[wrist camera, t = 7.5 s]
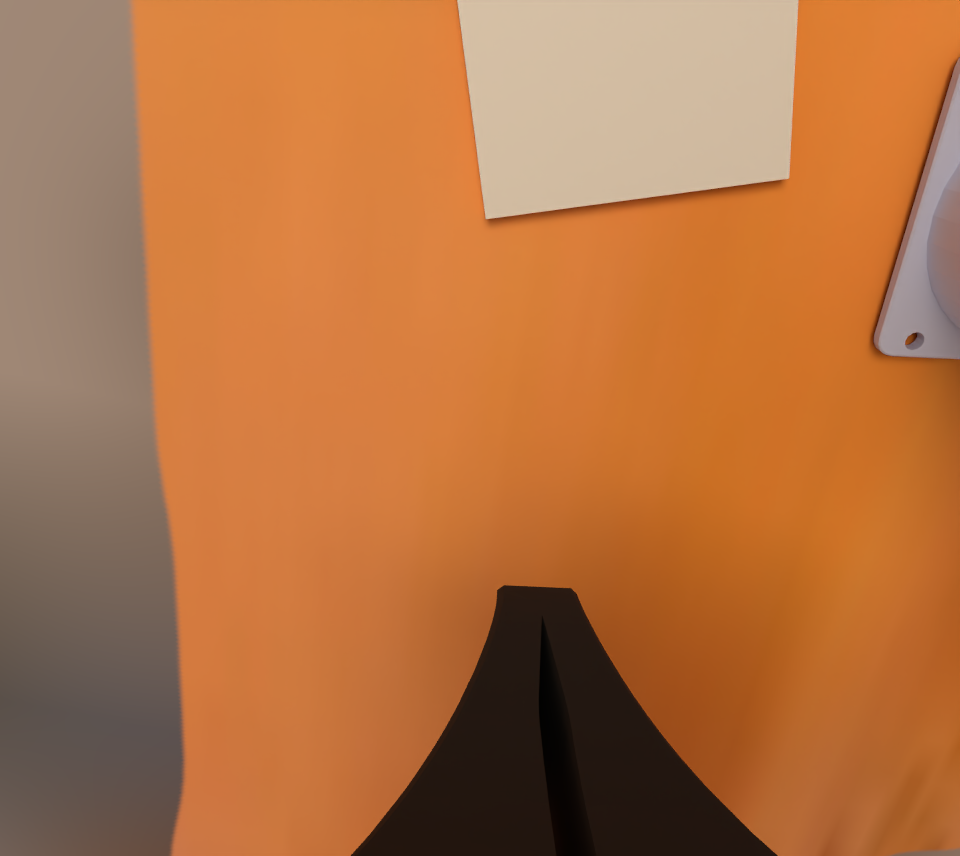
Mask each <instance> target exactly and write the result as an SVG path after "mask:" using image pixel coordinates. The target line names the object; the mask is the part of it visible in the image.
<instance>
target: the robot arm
mask: <svg viewBox="0 0 960 856" xmlns="http://www.w3.org/2000/svg"><path fill="white" fill-rule="evenodd" d="M916 332H917V338H916V339H915V341H914V342H912V343H911V344H909V345H905V340H906V339H907V337H908V336H909V335H911V334H912V333H916ZM874 344H875V347H876V348H877V349H879V350H880V351H881V352H882V353H884V354H885V355H889V356H900V357H922V358H943V359H960V57H959V59H958V61H957V63H956V65H955V68H954V71H953V74H952V78H951V81H950V84H949V88H948V91H947V94H946V98H945V101H944V104H943V108H942V111H941V114H940V118H939V121H938V124H937V128H936V131H935V134H934V138H933V141H932V144H931V148H930V151H929V154H928V158H927V161H926V164H925V168H924V171H923V174H922V178H921V181H920V184H919V188H918V191H917V194H916V198H915V201H914V204H913V208H912V211H911V214H910V218H909V221H908V224H907V228H906V231H905V234H904V238H903V241H902V244H901V248H900V251H899V254H898V258H897V261H896V264H895V268H894V271H893V274H892V278H891V281H890V284H889V288H888V291H887V294H886V298H885V301H884V304H883V308H882V311H881V314H880V318H879V321H878V324H877V328H876V331H875V334H874ZM351 856H777V855H776V854H775V853H774V852H773V851H772V850H771V849H770V848H768V847H767V846H766V845H765V844H764V843H763V842H762V841H761V840H760V839H758V838H757V837H756V836H755V835H754V834H753V833H752V832H751V831H750V830H749V829H748V828H747V827H746V826H745V825H744V824H743V823H742V822H741V821H740V820H739V819H738V818H737V817H736V816H735V815H734V814H733V813H732V812H731V811H730V810H729V809H728V808H727V807H726V806H725V805H724V804H723V803H722V802H721V801H720V800H719V799H718V798H717V797H716V796H715V795H714V794H713V793H712V792H711V791H710V790H709V789H708V788H707V787H706V786H705V785H704V784H703V783H702V782H701V780H700V779H699V778H698V777H697V776H696V775H695V774H694V773H693V771H692V770H691V769H690V768H689V767H688V766H687V765H686V764H685V762H684V761H683V760H682V759H681V758H680V756H679V755H678V754H677V753H676V752H675V750H674V749H673V748H672V747H671V746H670V744H669V743H668V742H667V741H666V739H665V738H664V737H663V736H662V734H661V733H660V732H659V730H658V729H657V728H656V726H655V725H654V724H653V722H652V721H651V720H650V718H649V717H648V716H647V714H646V713H645V711H644V710H643V709H642V707H641V706H640V704H639V703H638V702H637V700H636V699H635V697H634V696H633V694H632V693H631V691H630V690H629V688H628V687H627V685H626V684H625V682H624V681H623V679H622V678H621V676H620V674H619V673H618V671H617V669H616V668H615V666H614V665H613V663H612V661H611V660H610V658H609V657H608V655H607V653H606V651H605V650H604V648H603V646H602V645H601V643H600V641H599V639H598V637H597V635H596V634H595V632H594V630H593V628H592V626H591V624H590V622H589V620H588V618H587V616H586V614H585V612H584V610H583V608H582V606H581V603H580V601H579V599H578V596H577V594H576V593H575V592H574V591H573V590H572V589H571V588H550V587H528V586H506V585H504V586H503V587H501V588H500V589H498V590H497V603H496V609H495V613H494V617H493V621H492V625H491V628H490V631H489V634H488V637H487V640H486V643H485V645H484V648H483V651H482V653H481V656H480V658H479V661H478V663H477V666H476V668H475V671H474V673H473V675H472V677H471V679H470V681H469V683H468V685H467V688H466V690H465V692H464V694H463V696H462V698H461V700H460V702H459V704H458V706H457V708H456V710H455V712H454V714H453V715H452V717H451V719H450V721H449V723H448V724H447V726H446V728H445V730H444V731H443V733H442V735H441V736H440V738H439V740H438V741H437V743H436V745H435V746H434V748H433V749H432V751H431V753H430V754H429V756H428V757H427V759H426V760H425V762H424V763H423V765H422V766H421V768H420V769H419V771H418V772H417V774H416V775H415V777H414V778H413V779H412V781H411V782H410V784H409V785H408V786H407V788H406V789H405V791H404V792H403V793H402V795H401V796H400V797H399V798H398V800H397V801H396V802H395V803H394V805H393V806H392V807H391V808H390V810H389V811H388V812H387V814H386V815H385V816H384V817H383V819H382V820H381V821H380V822H379V824H378V825H377V826H376V827H375V829H374V830H373V831H372V832H371V834H370V835H369V836H368V837H367V838H366V839H365V841H364V842H363V843H362V844H361V845H360V846H359V847H358V848H357V849H356V850H355V852H354V853H353V854H352V855H351Z"/></svg>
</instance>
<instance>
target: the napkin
mask: <svg viewBox="0 0 960 856" xmlns="http://www.w3.org/2000/svg"><path fill="white" fill-rule="evenodd" d="M457 1H458V9H459V17H460V25H461V32H462V40H463V48H464V55H465V63H466V71H467V79H468V86H469V94H470V102H471V109H472V117H473V125H474V132H475V140H476V148H477V156H478V163H479V171H480V179H481V186H482V194H483V202H484V210H485V217H486V219H491V218H499V217H506V216H514V215H521V214H528V213H536V212H543V211H551V210H558V209H566V208H573V207H581V206H588V205H596V204H603V203H610V202H618V201H625V200H633V199H640V198H648V197H655V196H663V195H670V194H678V193H685V192H693V191H700V190H707V189H715V188H722V187H730V186H737V185H745V184H752V183H760V182H767V181H775V180H782V179H789V170H790V151H791V132H792V112H793V93H794V74H795V55H796V36H797V17H798V0H457Z"/></svg>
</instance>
